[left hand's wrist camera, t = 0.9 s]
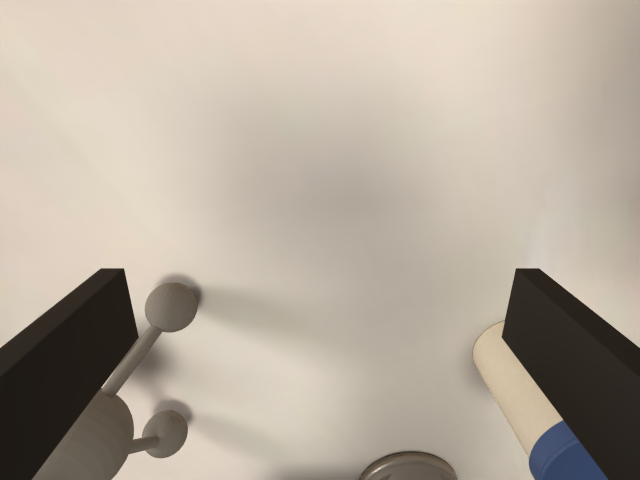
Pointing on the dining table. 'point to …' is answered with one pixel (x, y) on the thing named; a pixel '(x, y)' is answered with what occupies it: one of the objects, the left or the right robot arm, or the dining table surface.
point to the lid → (562, 457)
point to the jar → (513, 388)
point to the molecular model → (124, 406)
